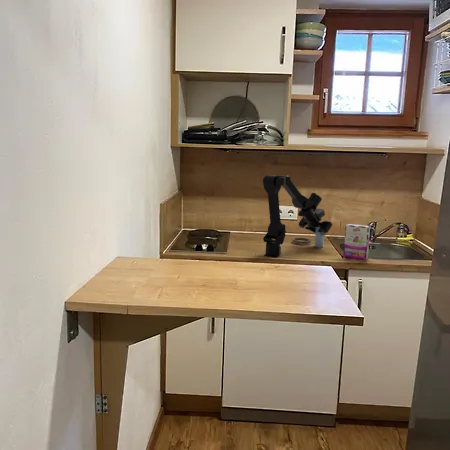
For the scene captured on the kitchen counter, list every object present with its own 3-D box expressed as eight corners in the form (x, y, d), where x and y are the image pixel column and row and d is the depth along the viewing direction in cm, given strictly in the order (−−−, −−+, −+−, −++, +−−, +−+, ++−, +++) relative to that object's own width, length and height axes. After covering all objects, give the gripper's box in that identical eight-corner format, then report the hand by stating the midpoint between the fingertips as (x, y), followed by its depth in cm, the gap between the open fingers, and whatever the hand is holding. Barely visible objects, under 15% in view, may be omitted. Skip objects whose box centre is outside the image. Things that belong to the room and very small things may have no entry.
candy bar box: (368, 258, 230) (371, 225, 227) (365, 260, 225) (369, 227, 222) (345, 255, 235) (347, 223, 232) (342, 257, 231) (345, 224, 228)
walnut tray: (290, 243, 257) (290, 240, 256) (295, 240, 266) (295, 236, 265) (308, 245, 253) (308, 242, 252) (312, 242, 262) (312, 239, 261)
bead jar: (313, 246, 251) (315, 223, 248) (315, 245, 255) (317, 222, 252) (322, 247, 249) (323, 224, 246) (323, 246, 253) (325, 223, 251)
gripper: (331, 206, 238) (343, 225, 247) (303, 201, 252) (315, 220, 261) (320, 222, 234) (332, 242, 243) (292, 217, 248) (305, 235, 257)
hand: (321, 234), depth 251 cm, fingers closed on bead jar, 5 cm apart
